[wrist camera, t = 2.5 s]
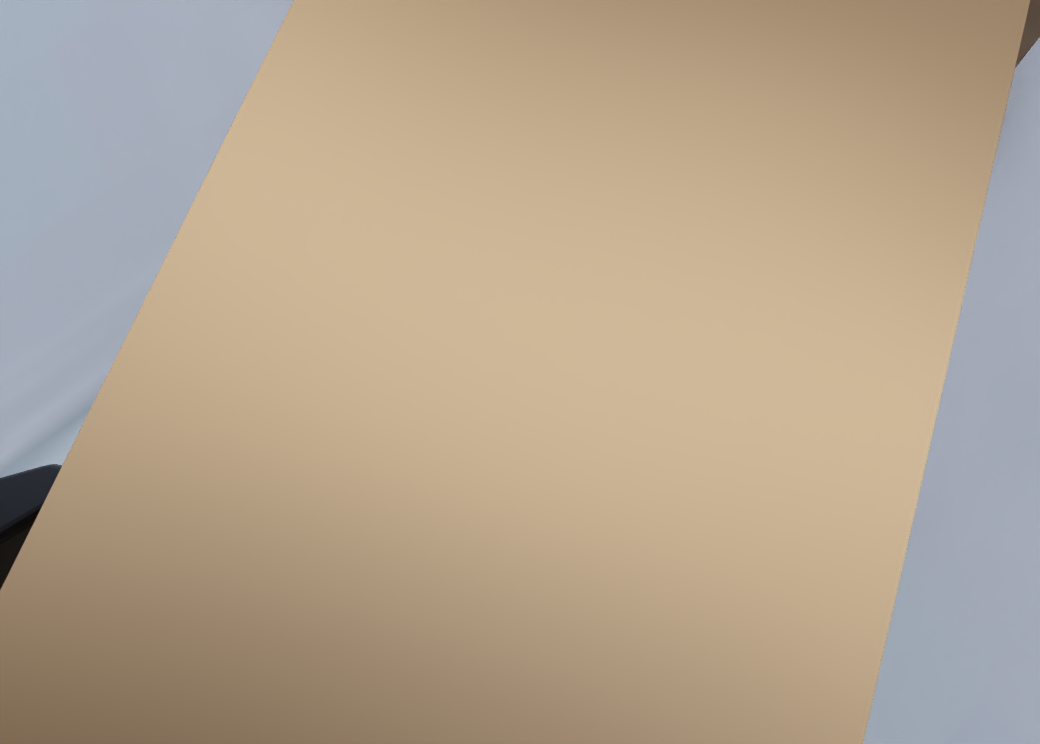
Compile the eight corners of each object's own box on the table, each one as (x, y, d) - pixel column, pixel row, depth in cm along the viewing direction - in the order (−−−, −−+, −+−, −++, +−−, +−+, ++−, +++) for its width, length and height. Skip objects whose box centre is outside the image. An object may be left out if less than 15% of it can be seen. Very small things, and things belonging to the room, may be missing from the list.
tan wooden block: (569, 921, 13) (683, 1528, 4) (292, 814, 14) (-256, 1105, 4) (793, 164, 17) (1151, -542, 7) (566, 98, 17) (620, -656, 8)
